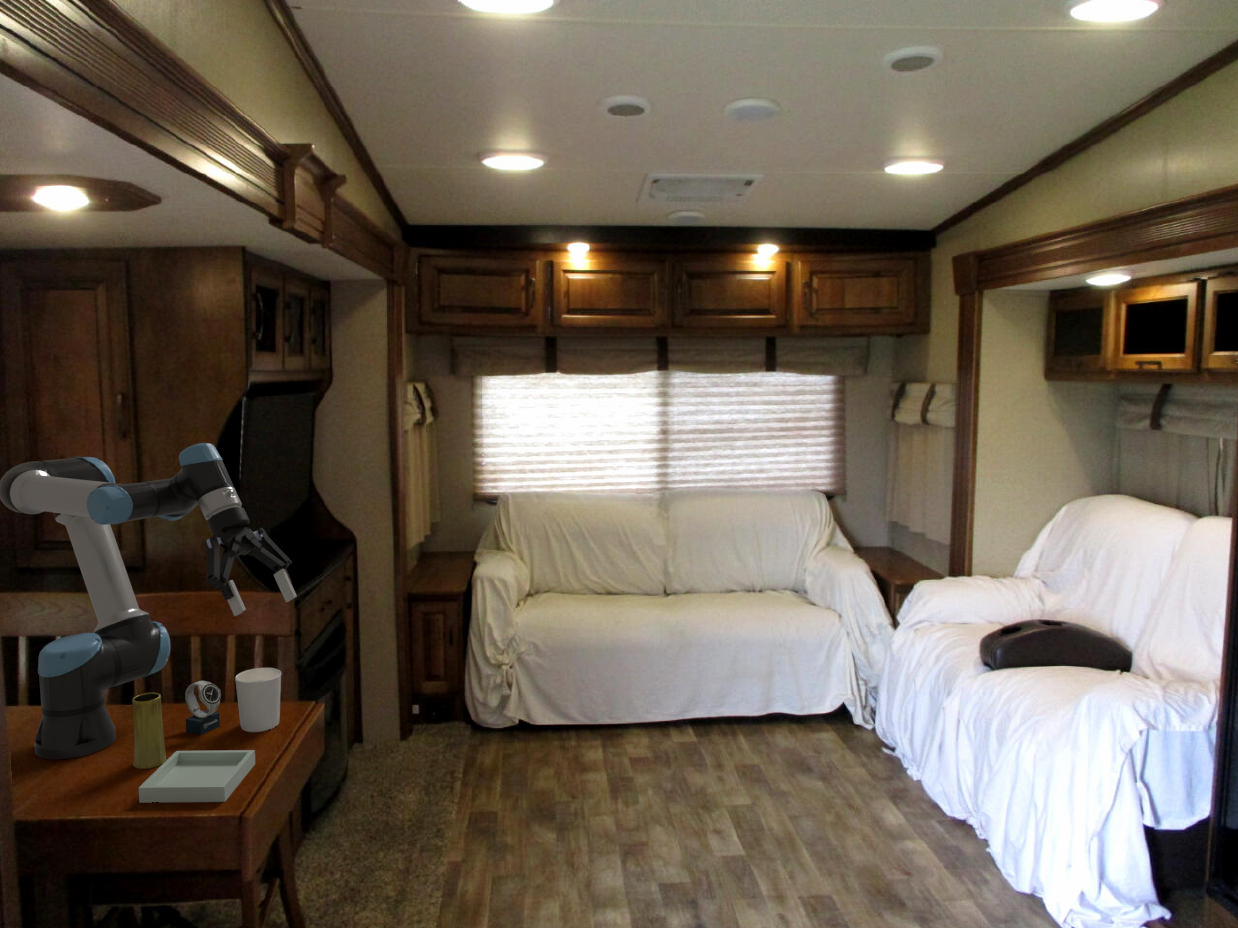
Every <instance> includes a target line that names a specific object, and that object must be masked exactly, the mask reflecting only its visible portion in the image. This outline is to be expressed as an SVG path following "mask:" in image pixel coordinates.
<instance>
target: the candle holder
mask: <svg viewBox="0 0 1238 928" xmlns="http://www.w3.org/2000/svg"><path fill="white" fill-rule="evenodd" d="M281 679H282V671H281V670H279V669H278V668H274V667H256V668H251V669H246V670H244V671H241V672H239V673H238V674H236V676H235V678H234V680H235V686H236V697H237V706H238V713H239V714H238V715H239V724H240V728H241V730H242V731H244V732H248V733H260V732H266V731H268V730H269V729H270V730H272V729H274V728H276V727H277V726H278V725H279V724H280V721H281V720H280V719H281V718H280V717H281V716H280V715H281V685H282V684H281V683H282V680H281ZM275 726H276V727H275Z"/></svg>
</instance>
